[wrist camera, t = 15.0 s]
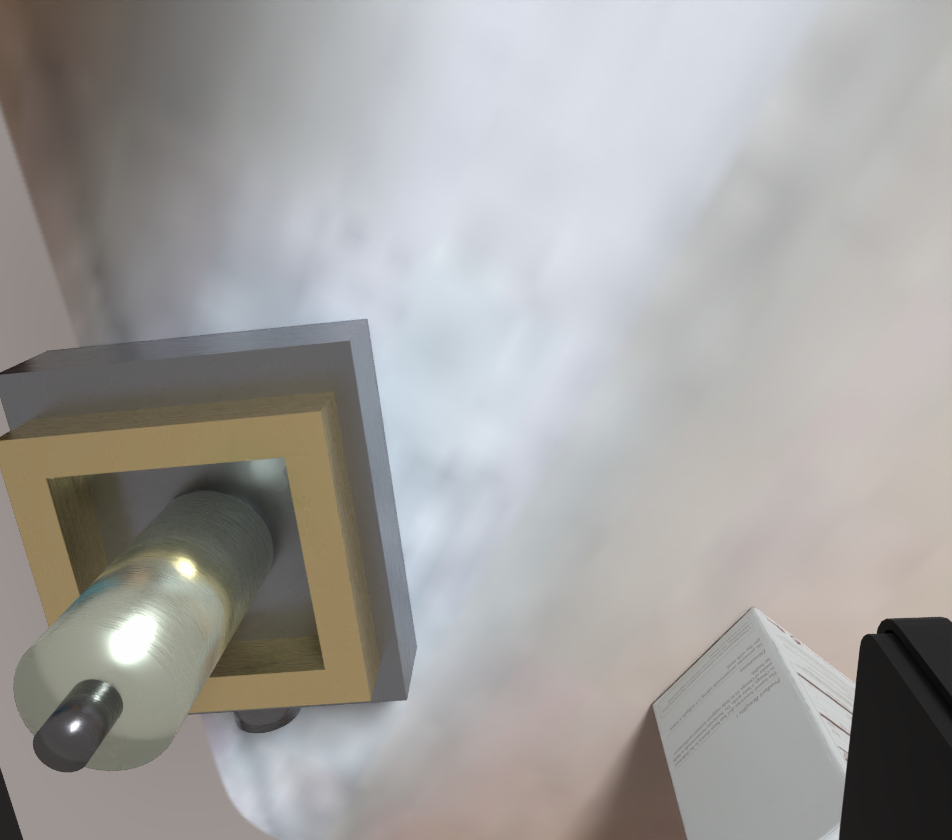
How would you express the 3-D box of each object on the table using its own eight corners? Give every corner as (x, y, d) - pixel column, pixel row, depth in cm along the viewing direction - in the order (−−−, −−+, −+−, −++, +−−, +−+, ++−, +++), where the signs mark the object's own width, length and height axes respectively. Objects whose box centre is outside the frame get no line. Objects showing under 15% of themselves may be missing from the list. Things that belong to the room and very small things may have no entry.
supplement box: (757, 783, 42) (855, 1039, 30) (647, 702, 41) (703, 936, 29) (868, 687, 40) (1021, 921, 28) (756, 599, 39) (865, 804, 27)
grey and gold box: (48, 350, 36) (-47, 394, 30) (367, 318, 35) (337, 357, 29) (142, 694, 42) (78, 790, 36) (421, 675, 41) (404, 771, 35)
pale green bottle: (140, 495, 34) (-52, 676, 22) (261, 486, 33) (128, 665, 22) (167, 604, 35) (0, 824, 24) (283, 596, 35) (169, 817, 24)
